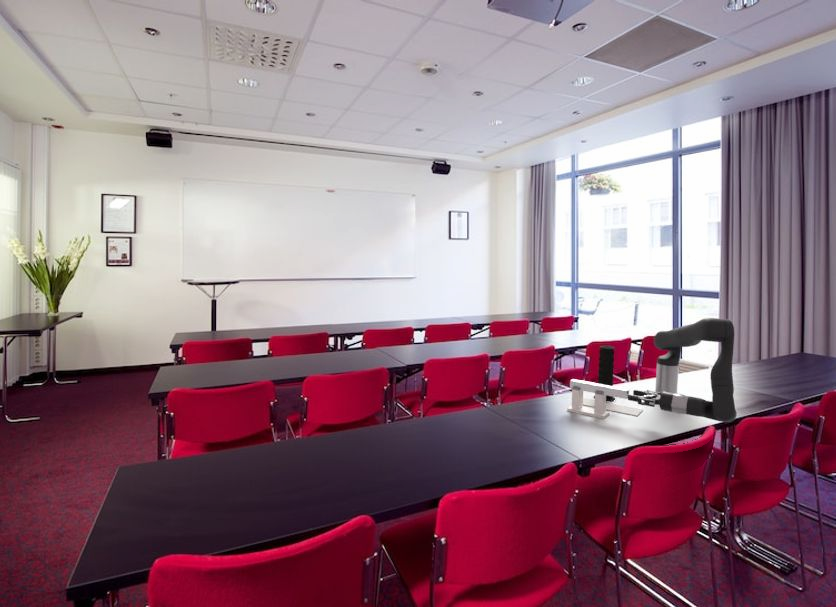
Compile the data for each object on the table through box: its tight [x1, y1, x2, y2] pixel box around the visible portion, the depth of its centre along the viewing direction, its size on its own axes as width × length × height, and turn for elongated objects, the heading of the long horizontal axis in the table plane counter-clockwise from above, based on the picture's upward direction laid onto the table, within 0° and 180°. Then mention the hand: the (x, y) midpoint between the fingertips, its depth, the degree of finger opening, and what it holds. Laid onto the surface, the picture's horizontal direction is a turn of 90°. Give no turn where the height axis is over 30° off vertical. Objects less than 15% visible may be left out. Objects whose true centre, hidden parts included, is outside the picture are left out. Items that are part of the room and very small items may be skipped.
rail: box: [569, 378, 630, 400], centre depth 197 cm, size 24×4×4 cm, turn 51°
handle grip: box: [593, 344, 616, 402], centre depth 220 cm, size 10×26×10 cm
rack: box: [567, 387, 610, 420], centre depth 200 cm, size 7×16×11 cm, turn 50°
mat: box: [583, 397, 644, 417], centre depth 209 cm, size 10×28×1 cm, turn 50°
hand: (630, 394), depth 189 cm, fingers open, 8 cm apart
